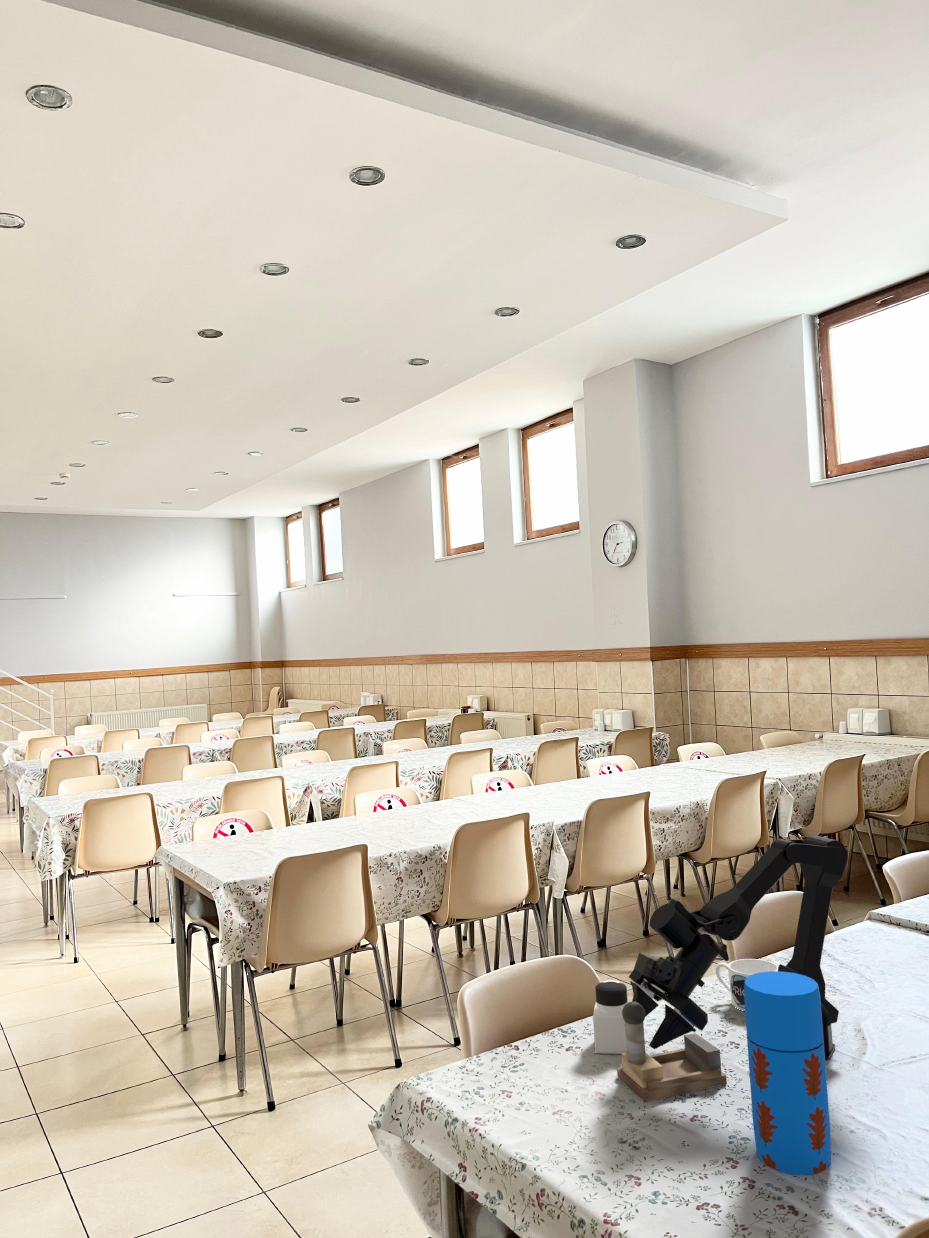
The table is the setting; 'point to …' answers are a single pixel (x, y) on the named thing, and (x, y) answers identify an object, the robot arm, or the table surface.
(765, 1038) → the thermos
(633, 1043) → the press handle
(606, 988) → the medicine bottle
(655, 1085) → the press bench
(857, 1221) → the table surface
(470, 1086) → the table surface
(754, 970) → the mug
